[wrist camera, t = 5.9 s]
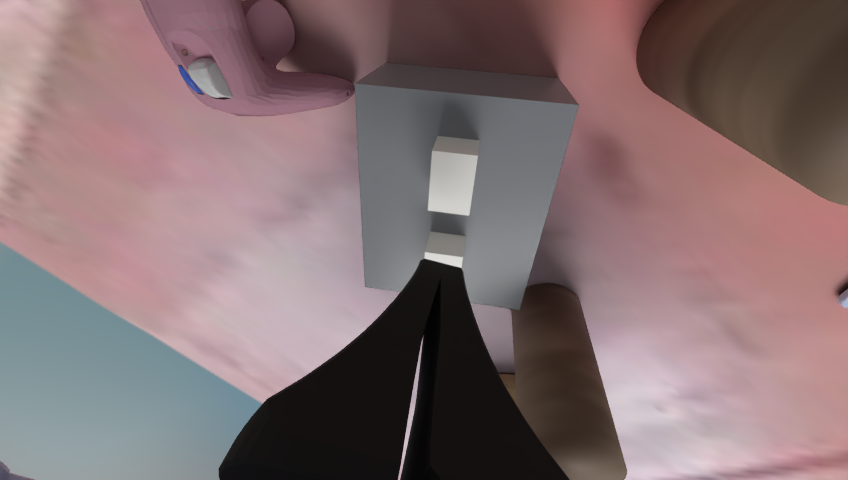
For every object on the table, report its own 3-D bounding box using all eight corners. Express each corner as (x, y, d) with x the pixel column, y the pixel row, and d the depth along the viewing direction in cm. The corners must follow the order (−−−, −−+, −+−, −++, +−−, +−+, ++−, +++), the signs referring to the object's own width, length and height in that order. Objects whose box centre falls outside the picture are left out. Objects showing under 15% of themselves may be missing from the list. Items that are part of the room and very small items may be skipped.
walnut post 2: (791, -9, 14) (1239, -11, 5) (713, 109, 16) (939, 229, 8) (675, -37, 14) (945, -80, 5) (617, 85, 16) (741, 179, 8)
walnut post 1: (592, 293, 23) (648, 461, 15) (563, 337, 25) (597, 502, 17) (524, 276, 23) (542, 433, 15) (502, 322, 25) (506, 477, 17)
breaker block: (557, 77, 17) (588, 118, 11) (514, 251, 22) (521, 334, 17) (387, 62, 17) (339, 93, 12) (387, 234, 23) (355, 308, 18)
